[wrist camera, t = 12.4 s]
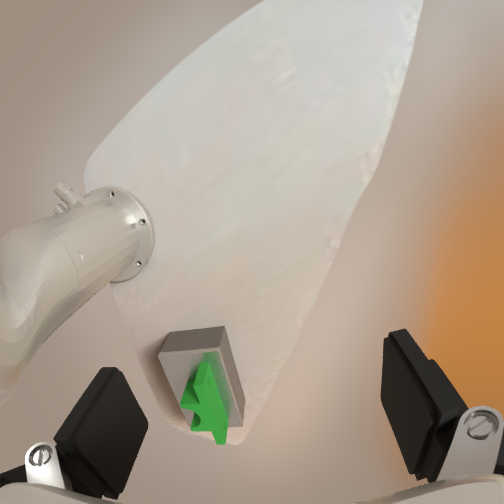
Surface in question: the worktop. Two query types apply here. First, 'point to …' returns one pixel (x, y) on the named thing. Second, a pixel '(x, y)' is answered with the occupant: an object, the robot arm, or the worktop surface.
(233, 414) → the gray rectangular block
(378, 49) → the worktop surface
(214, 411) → the pipe clamp
